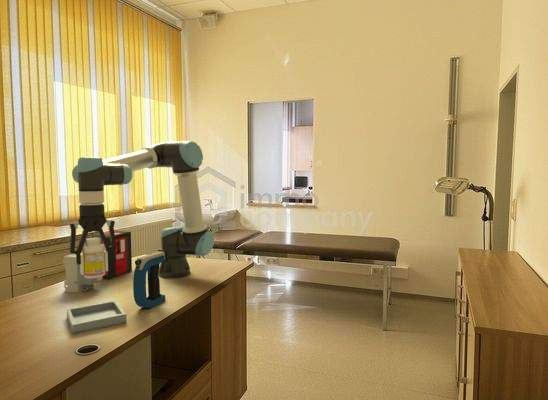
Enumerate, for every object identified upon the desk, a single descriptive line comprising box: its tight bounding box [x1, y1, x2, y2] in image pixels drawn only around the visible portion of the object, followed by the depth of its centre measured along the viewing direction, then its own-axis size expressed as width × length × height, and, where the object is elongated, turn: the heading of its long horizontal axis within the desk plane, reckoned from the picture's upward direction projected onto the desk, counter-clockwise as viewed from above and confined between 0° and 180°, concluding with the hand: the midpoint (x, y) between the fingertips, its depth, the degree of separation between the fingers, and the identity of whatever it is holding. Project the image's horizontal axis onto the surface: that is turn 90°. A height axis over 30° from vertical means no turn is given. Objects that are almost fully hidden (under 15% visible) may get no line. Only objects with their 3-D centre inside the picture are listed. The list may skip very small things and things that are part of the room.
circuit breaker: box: [62, 252, 103, 294], centre depth 159 cm, size 8×14×15 cm, turn 78°
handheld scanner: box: [132, 249, 168, 309], centre depth 141 cm, size 5×16×20 cm, turn 161°
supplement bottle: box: [81, 237, 105, 278], centre depth 126 cm, size 7×7×13 cm
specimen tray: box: [66, 299, 128, 335], centre depth 128 cm, size 16×16×3 cm
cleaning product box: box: [91, 230, 133, 281], centre depth 183 cm, size 16×9×20 cm, turn 164°
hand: (94, 271), depth 126 cm, fingers closed on supplement bottle, 7 cm apart
